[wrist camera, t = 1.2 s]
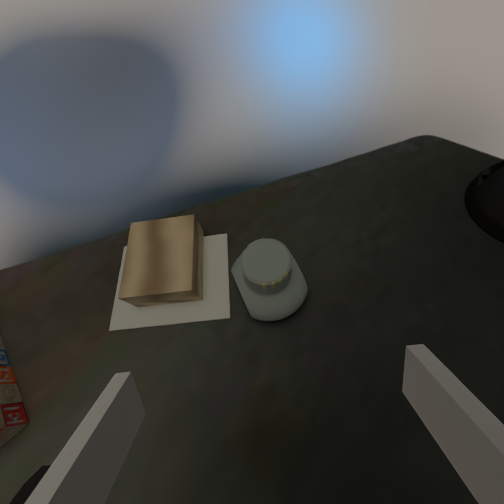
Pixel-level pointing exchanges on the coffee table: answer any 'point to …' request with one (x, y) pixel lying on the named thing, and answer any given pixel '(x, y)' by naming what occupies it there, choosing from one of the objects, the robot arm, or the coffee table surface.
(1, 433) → the stack of blocks
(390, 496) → the coffee table surface
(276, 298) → the air freshener
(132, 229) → the base block
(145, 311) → the mat
